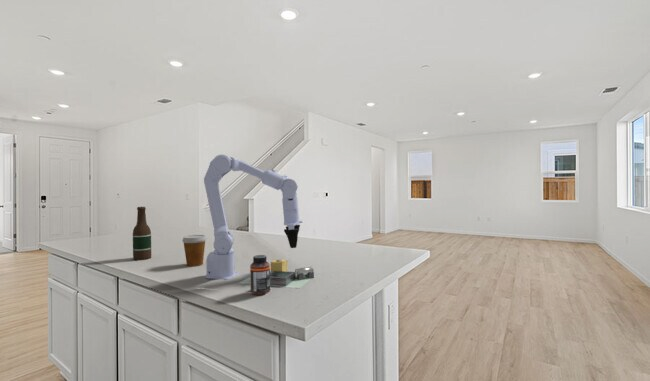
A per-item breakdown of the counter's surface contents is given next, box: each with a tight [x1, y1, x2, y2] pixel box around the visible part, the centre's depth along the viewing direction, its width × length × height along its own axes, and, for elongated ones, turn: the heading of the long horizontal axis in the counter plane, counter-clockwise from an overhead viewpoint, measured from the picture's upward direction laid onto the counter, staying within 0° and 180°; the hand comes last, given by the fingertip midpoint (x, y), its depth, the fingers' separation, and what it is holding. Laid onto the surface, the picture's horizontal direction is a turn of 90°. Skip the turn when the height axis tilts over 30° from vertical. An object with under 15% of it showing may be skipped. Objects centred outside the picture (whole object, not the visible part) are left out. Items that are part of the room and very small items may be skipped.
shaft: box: [294, 266, 315, 280], centre depth 115 cm, size 6×4×4 cm, turn 119°
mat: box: [238, 271, 316, 289], centre depth 114 cm, size 22×16×1 cm
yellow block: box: [270, 258, 288, 272], centre depth 119 cm, size 4×4×5 cm
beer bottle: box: [132, 206, 152, 261], centre depth 151 cm, size 8×8×24 cm
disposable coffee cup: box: [182, 234, 207, 267], centre depth 138 cm, size 10×10×12 cm
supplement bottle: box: [249, 254, 271, 296], centre depth 101 cm, size 6×6×11 cm
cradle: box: [270, 270, 296, 286], centre depth 111 cm, size 8×8×3 cm
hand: (293, 245), depth 124 cm, fingers open, 7 cm apart
